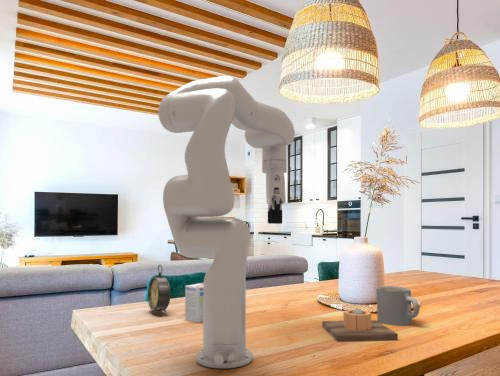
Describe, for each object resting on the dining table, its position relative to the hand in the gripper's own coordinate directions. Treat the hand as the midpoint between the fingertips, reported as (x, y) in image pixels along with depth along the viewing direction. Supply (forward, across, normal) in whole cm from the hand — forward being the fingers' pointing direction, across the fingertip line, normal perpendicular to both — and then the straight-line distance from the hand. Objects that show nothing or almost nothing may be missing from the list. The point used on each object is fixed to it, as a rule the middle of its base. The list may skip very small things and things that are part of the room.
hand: (274, 223), depth 125 cm
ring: (+28, -10, -22) cm, 37 cm away
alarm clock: (+30, +18, +37) cm, 51 cm away
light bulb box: (+30, +10, +22) cm, 39 cm away
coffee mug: (+30, 0, -38) cm, 48 cm away
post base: (+30, -10, -22) cm, 38 cm away
